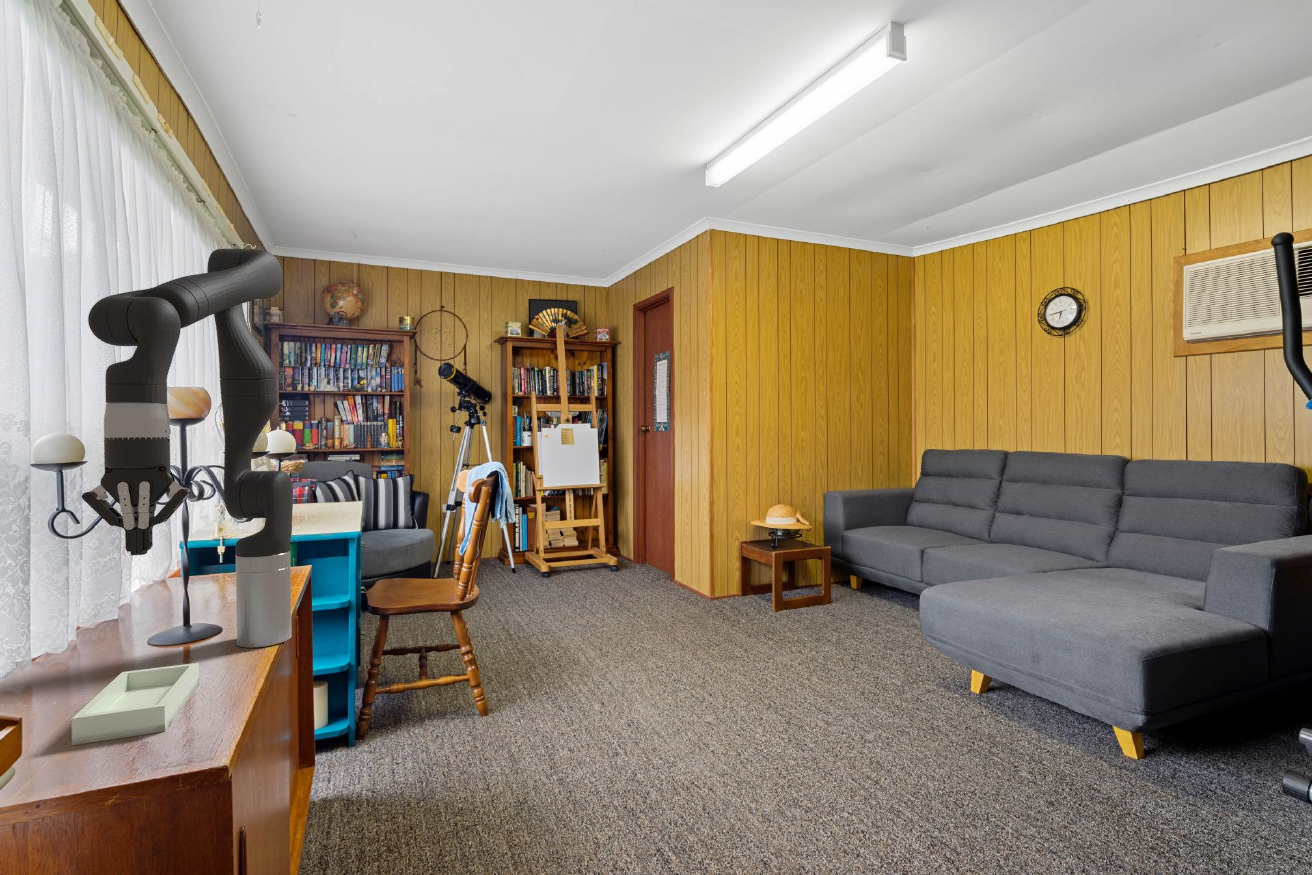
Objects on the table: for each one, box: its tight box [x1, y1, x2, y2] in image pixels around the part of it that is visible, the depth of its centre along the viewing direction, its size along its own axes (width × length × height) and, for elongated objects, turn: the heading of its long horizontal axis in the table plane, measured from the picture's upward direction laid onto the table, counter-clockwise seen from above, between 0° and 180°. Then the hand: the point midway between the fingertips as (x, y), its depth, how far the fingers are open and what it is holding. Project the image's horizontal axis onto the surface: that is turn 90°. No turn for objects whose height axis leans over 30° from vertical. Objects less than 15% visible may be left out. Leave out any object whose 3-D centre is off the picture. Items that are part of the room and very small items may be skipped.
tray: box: [71, 662, 200, 746], centre depth 96 cm, size 18×10×4 cm, turn 23°
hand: (139, 554), depth 95 cm, fingers closed
